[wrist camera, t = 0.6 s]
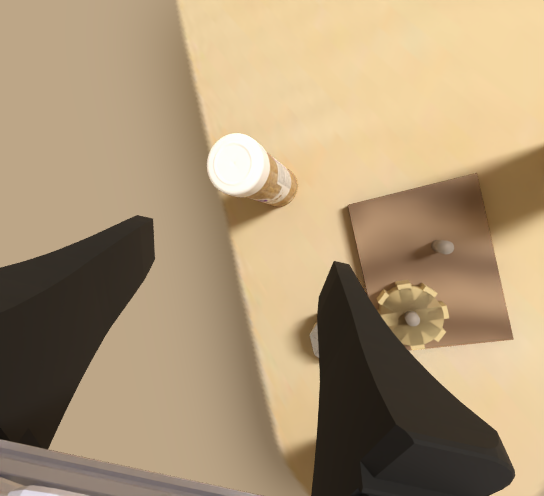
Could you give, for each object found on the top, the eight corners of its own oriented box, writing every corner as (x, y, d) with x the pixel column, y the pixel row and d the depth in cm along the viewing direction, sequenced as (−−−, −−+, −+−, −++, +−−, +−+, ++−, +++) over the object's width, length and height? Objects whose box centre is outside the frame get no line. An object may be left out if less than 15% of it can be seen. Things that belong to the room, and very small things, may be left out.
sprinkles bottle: (263, 209, 36) (209, 200, 23) (258, 171, 36) (200, 139, 23) (301, 203, 34) (266, 188, 21) (296, 162, 34) (257, 124, 21)
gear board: (507, 335, 30) (530, 352, 26) (380, 348, 33) (382, 365, 29) (472, 175, 30) (489, 166, 25) (348, 205, 33) (346, 202, 29)
